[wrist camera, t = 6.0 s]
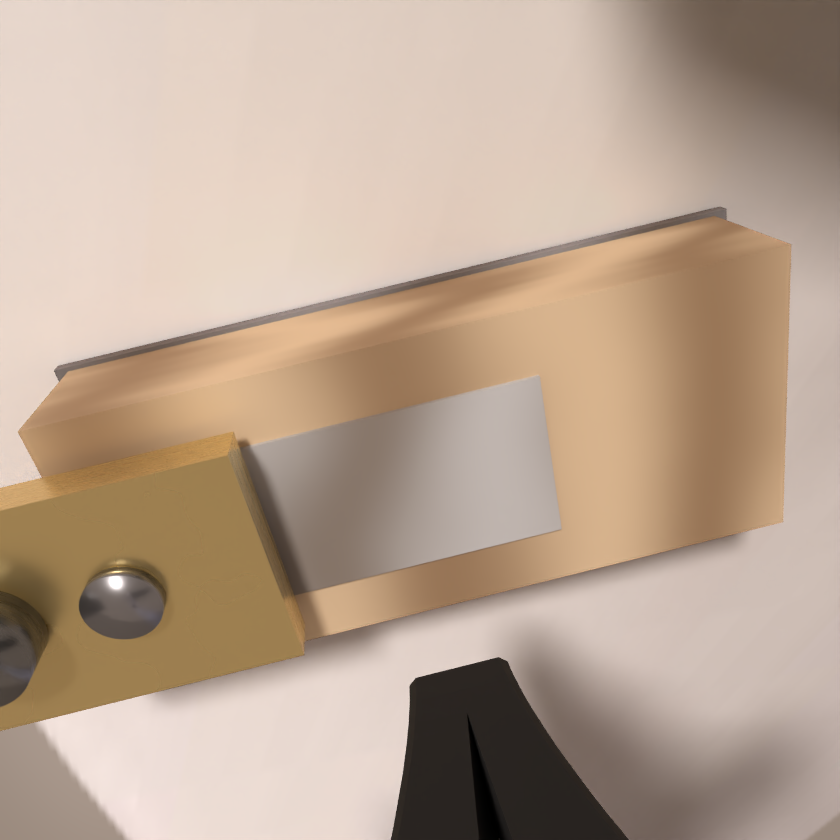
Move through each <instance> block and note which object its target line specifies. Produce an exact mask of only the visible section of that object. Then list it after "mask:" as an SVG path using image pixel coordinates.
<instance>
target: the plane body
mask: <svg viewBox="0 0 840 840" xmlns="http://www.w3.org/2000/svg"><path fill="white" fill-rule="evenodd" d="M790 269H791V244H788V243H786V242H783V241H780V240H778V239H775V238H772V237H770V236H767V235H764V234H762V233H759V232H756V231H754V230H751V229H748V228H745V227H743V226H740V225H737V224H735V223H732V222H729V221H727V220H726V209H725V208H722V207H717V208H713V209H709V210H705V211H700V212H696V213H692V214H688V215H684V216H680V217H676V218H671V219H667V220H663V221H659V222H655V223H651V224H646V225H642V226H638V227H634V228H630V229H626V230H621V231H617V232H613V233H609V234H605V235H601V236H597V237H592V238H588V239H584V240H580V241H576V242H572V243H567V244H563V245H559V246H555V247H551V248H547V249H542V250H538V251H534V252H530V253H526V254H522V255H517V256H513V257H509V258H505V259H501V260H497V261H493V262H488V263H484V264H480V265H476V266H472V267H468V268H463V269H459V270H455V271H451V272H447V273H443V274H438V275H434V276H430V277H426V278H422V279H418V280H414V281H409V282H405V283H401V284H397V285H393V286H389V287H384V288H380V289H376V290H372V291H368V292H364V293H359V294H355V295H351V296H347V297H343V298H339V299H335V300H330V301H326V302H322V303H318V304H314V305H310V306H305V307H301V308H297V309H293V310H289V311H285V312H280V313H276V314H272V315H268V316H264V317H260V318H256V319H251V320H247V321H243V322H239V323H235V324H231V325H226V326H222V327H218V328H214V329H210V330H206V331H201V332H197V333H193V334H189V335H185V336H181V337H176V338H172V339H168V340H164V341H160V342H156V343H152V344H147V345H143V346H139V347H135V348H131V349H127V350H122V351H118V352H114V353H110V354H106V355H102V356H97V357H93V358H89V359H85V360H81V361H77V362H73V363H68V364H64V365H60V366H58V367H57V368H56V369H55V370H54V372H55V374H56V376H57V378H58V380H59V383H58V384H57V385H56V386H55V388H54V389H53V390H52V391H51V392H50V394H49V395H48V396H47V397H46V398H45V400H44V401H43V402H42V403H41V404H40V406H39V407H38V408H37V409H36V410H35V412H34V413H33V414H32V415H31V416H30V418H29V419H28V420H27V421H26V422H25V424H24V425H23V426H22V427H21V428H20V430H19V431H18V433H19V435H20V437H21V439H22V441H23V443H24V444H25V446H26V448H27V450H28V452H29V454H30V456H31V458H32V460H33V461H34V463H35V465H36V467H37V469H38V471H39V473H40V475H41V477H42V478H44V477H48V476H52V475H56V474H60V473H64V472H68V471H72V470H77V469H81V468H85V467H89V466H93V465H97V464H101V463H105V462H109V461H114V460H118V459H122V458H126V457H130V456H134V455H138V454H142V453H146V452H151V451H155V450H159V449H163V448H167V447H171V446H175V445H179V444H183V443H187V442H192V441H196V440H200V439H204V438H208V437H212V436H216V435H220V434H224V433H229V432H234V434H235V437H236V440H237V442H238V445H239V448H240V450H241V453H242V456H243V458H244V461H245V464H246V466H247V469H248V472H249V475H250V477H251V480H252V483H253V485H254V488H255V491H256V493H257V496H258V499H259V501H260V504H261V507H262V509H263V512H264V515H265V518H266V520H267V523H268V526H269V528H270V531H271V534H272V536H273V539H274V542H275V544H276V547H277V550H278V553H279V555H280V558H281V561H282V563H283V566H284V569H285V571H286V574H287V577H288V579H289V582H290V585H291V587H292V590H293V593H294V596H295V598H296V601H297V604H298V606H299V609H300V612H301V614H302V617H303V620H304V622H305V641H308V640H312V639H316V638H320V637H324V636H328V635H332V634H336V633H340V632H344V631H348V630H352V629H356V628H360V627H364V626H368V625H372V624H376V623H380V622H384V621H388V620H392V619H396V618H400V617H404V616H408V615H412V614H416V613H420V612H424V611H428V610H432V609H436V608H440V607H444V606H448V605H452V604H456V603H460V602H464V601H468V600H472V599H476V598H480V597H484V596H488V595H492V594H496V593H500V592H504V591H508V590H512V589H516V588H520V587H524V586H528V585H532V584H536V583H540V582H544V581H548V580H552V579H556V578H560V577H564V576H568V575H573V574H577V573H581V572H585V571H589V570H593V569H597V568H601V567H605V566H609V565H613V564H617V563H621V562H625V561H629V560H633V559H637V558H641V557H645V556H649V555H653V554H657V553H661V552H665V551H669V550H673V549H677V548H681V547H685V546H689V545H693V544H697V543H701V542H705V541H709V540H713V539H717V538H721V537H725V536H729V535H733V534H737V533H741V532H745V531H749V530H753V529H757V528H761V527H765V526H769V525H773V524H777V523H781V522H783V505H784V472H785V438H786V404H787V370H788V337H789V303H790Z"/></svg>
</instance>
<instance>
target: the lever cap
mask: <svg viewBox="0 0 840 840" xmlns="http://www.w3.org/2000/svg"><path fill="white" fill-rule="evenodd" d="M304 643H305V622H304V620H303V617H302V614H301V612H300V609H299V606H298V604H297V601H296V598H295V596H294V593H293V590H292V587H291V585H290V582H289V579H288V577H287V574H286V571H285V569H284V566H283V563H282V561H281V558H280V555H279V553H278V550H277V547H276V544H275V542H274V539H273V536H272V534H271V531H270V528H269V526H268V523H267V520H266V518H265V515H264V512H263V509H262V507H261V504H260V501H259V499H258V496H257V493H256V491H255V488H254V485H253V483H252V480H251V477H250V475H249V472H248V469H247V466H246V464H245V461H244V458H243V456H242V453H241V450H240V448H239V445H238V442H237V440H236V437H235V434H234V432H229V433H224V434H220V435H216V436H212V437H208V438H204V439H200V440H196V441H192V442H187V443H183V444H179V445H175V446H171V447H167V448H163V449H159V450H155V451H151V452H146V453H142V454H138V455H134V456H130V457H126V458H122V459H118V460H114V461H109V462H105V463H101V464H97V465H93V466H89V467H85V468H81V469H77V470H72V471H68V472H64V473H60V474H56V475H52V476H48V477H44V478H40V479H35V480H31V481H27V482H23V483H19V484H15V485H11V486H7V487H3V488H0V731H2V730H6V729H10V728H14V727H18V726H22V725H26V724H30V723H34V722H38V721H42V720H46V719H50V718H54V717H58V716H62V715H66V714H70V713H74V712H78V711H82V710H86V709H90V708H94V707H98V706H102V705H106V704H110V703H114V702H118V701H122V700H126V699H130V698H134V697H138V696H142V695H146V694H150V693H154V692H158V691H162V690H166V689H170V688H174V687H178V686H182V685H186V684H190V683H194V682H198V681H202V680H206V679H210V678H214V677H218V676H222V675H226V674H230V673H234V672H238V671H242V670H246V669H250V668H254V667H258V666H262V665H266V664H270V663H274V662H278V661H282V660H286V659H290V658H294V657H298V656H302V655H304Z"/></svg>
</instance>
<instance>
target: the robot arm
mask: <svg viewBox="0 0 840 840" xmlns="http://www.w3.org/2000/svg"><path fill="white" fill-rule="evenodd" d="M391 840H629V839H628V838H627V837H626V836H625V835H624V833H623V832H622V831H621V830H620V829H619V827H618V826H617V825H616V824H615V823H614V821H613V820H612V819H611V818H610V817H609V815H608V814H607V813H606V812H605V810H604V809H603V808H602V806H601V805H600V804H599V803H598V801H597V800H596V799H595V798H594V796H593V795H592V794H591V792H590V791H589V790H588V788H587V787H586V786H585V784H584V783H583V782H582V780H581V779H580V778H579V776H578V775H577V774H576V772H575V771H574V770H573V768H572V767H571V765H570V764H569V763H568V761H567V760H566V759H565V757H564V756H563V755H562V753H561V752H560V750H559V749H558V748H557V746H556V745H555V743H554V742H553V740H552V739H551V737H550V736H549V734H548V733H547V731H546V730H545V728H544V727H543V725H542V724H541V722H540V720H539V719H538V717H537V716H536V714H535V713H534V711H533V709H532V708H531V706H530V704H529V703H528V701H527V699H526V698H525V696H524V694H523V692H522V691H521V689H520V687H519V685H518V683H517V681H516V679H515V677H514V675H513V673H512V671H511V669H510V666H509V664H508V662H507V661H505V660H503V659H501V658H499V657H498V658H494V659H490V660H486V661H482V662H478V663H474V664H470V665H466V666H462V667H458V668H454V669H450V670H446V671H442V672H438V673H434V674H430V675H426V676H422V677H418V678H415V680H414V681H413V682H412V683H411V685H410V710H409V727H408V737H407V746H406V754H405V762H404V770H403V776H402V782H401V788H400V793H399V799H398V805H397V811H396V816H395V822H394V827H393V832H392V837H391Z"/></svg>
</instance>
